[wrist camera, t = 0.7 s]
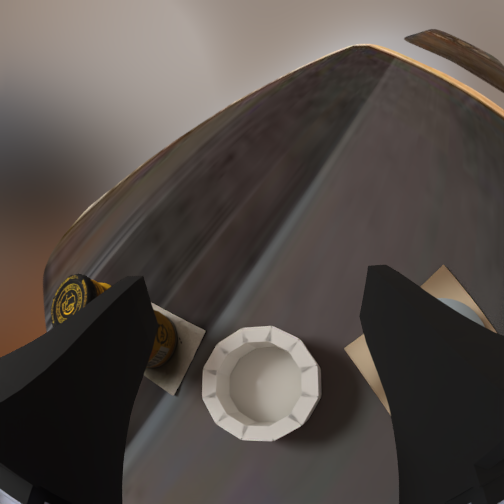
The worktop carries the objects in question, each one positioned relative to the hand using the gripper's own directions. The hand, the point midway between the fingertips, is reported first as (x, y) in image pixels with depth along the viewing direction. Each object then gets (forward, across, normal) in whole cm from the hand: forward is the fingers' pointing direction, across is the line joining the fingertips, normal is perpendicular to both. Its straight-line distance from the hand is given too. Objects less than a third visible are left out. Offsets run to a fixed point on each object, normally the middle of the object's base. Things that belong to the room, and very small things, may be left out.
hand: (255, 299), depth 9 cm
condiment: (+13, +11, +15) cm, 23 cm away
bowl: (+8, 0, +15) cm, 17 cm away
